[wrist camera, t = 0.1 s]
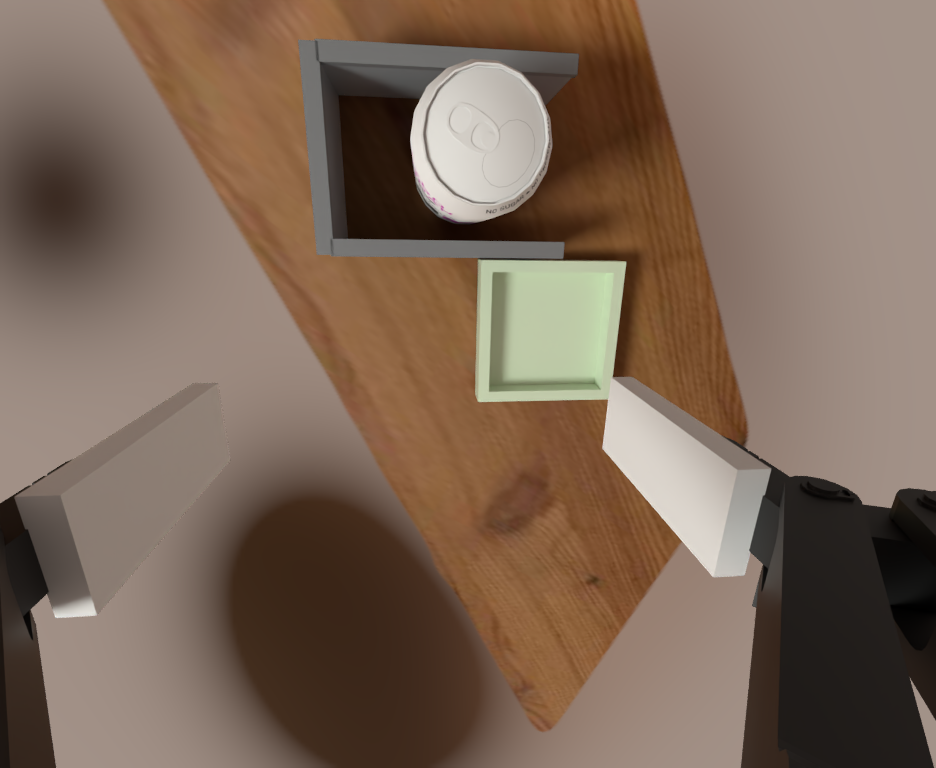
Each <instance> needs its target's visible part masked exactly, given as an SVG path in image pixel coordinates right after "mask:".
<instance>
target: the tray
mask: <svg viewBox="0 0 936 768" xmlns="http://www.w3.org/2000/svg"><path fill="white" fill-rule="evenodd" d="M625 270H626V262H625V261H617V260H535V259H478V284H477V334H476V383H475V394H476V397H477V400H478V402H498V401H546V400H593V399H609V390H610V382H611V377H613V370H614V361H615V353H616V345H617V336H618V328H619V320H620V311H621V303H622V295H623V286H624V278H625Z"/></svg>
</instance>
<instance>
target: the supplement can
mask: <svg viewBox="0 0 936 768" xmlns="http://www.w3.org/2000/svg"><path fill="white" fill-rule="evenodd" d="M410 143H411V151H412V159H413V168H414V174H415V180H416V186H417V190H418V192H419V194H420V196H421V198H422V200H423V201H424V203H425V205H426V206H427V207H428V208H429V209H430V210H431V211H432V212H433V213H434V214H435V215H436V216H437V217H439V218H441V219H443V220H446V221H448V222H451V223H453V224H474V223H477V222H481V221H484V220H488V219H492V218H495V217H497V216H500V215H503V214H506V213H509V212H511V211H514V210H515V209H517V208H518V207H519V206H520V205H521V204H523V203H524V202H525V201H526V200H527V199H528V198H530V197H531V196H532V195H533V194H534V192H535V191H536V189H537V187H538V186H539V184H540V182H541V181H542V179H543V177H544V176H545V174H546V172H547V168H548V163H549V159H550V155H551V150H552V134H551V122H550V117H549V114H548V112H547V109H546V107H545V105H544V102H543V100H542V97H541V95H540V93H539V92H538V90H537V89H536V88H535V87H534V86H533V85H532V84H531V83H530V82H529V80H528V79H527V78H526V77H525V76H524V75H523V74H522V73H521V72H519V71H517V70H515V69H513V68H511V67H509V66H507V65H506V64H504V63H502V62H500V61H496V60H480V59H470V60H468V61H465V62H462V63H459V64H457V65H454V66H451V67H448V68H446V69H445V70H444V71H443V72H442V73H441V74H440V75H439V76H438V77H437V78H435V79H434V80H433V81H432V82H431V83H430V84H429V85H428V86H427V87H426V89H425V91H424V93H423V95H422V97H421V99H420V101H419V103H418V105H417V107H416V109H415V111H414V116H413V123H412V130H411V137H410Z"/></svg>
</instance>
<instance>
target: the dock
mask: <svg viewBox="0 0 936 768" xmlns="http://www.w3.org/2000/svg"><path fill="white" fill-rule="evenodd" d="M314 40H315V41H311V40H298V43H299V54H300V66H301V77H302V89H303V100H304V112H305V123H306V135H307V146H308V158H309V169H310V181H311V192H312V204H313V215H314V227H315V238H316V250H317V255H331V256H359V257H452V258H546V259H563V255H564V242H524V241H455V240H385V239H348V232H347V217H346V201H345V186H344V171H343V156H342V140H341V125H340V110H339V95H344V96H366V97H388V98H411V99H421V97H422V95H423V93H424V91H425V89H426V87H427V86H428V85H429V84H430V83H431V82H432V81H433V80H434V79H435V78H437V77H438V76H439V75H440V74H441V73H442V72H443V71H444V70H445V69H446V68H448V67H451V66H454V65H457V64H459V63H462V62H465V61H468V60H470V59H480V60H496V61H500V62H502V63H504V64H506V65H507V66H509V67H511V68H513V69H515V70H517V71H519V72H521V73H522V74H523V75H524V76H525V77H526V78H527V79H528V80H529V82H530V83H531V84H532V85H533V86H534V87H535V88H536V89H537V90H538V92H539V93H540V95H541V97H542V100H543V102H544V105H547V103H548V102H549V101H550V100H551V99H552V98H553V97H554V96H555V95H556V94H557V93H558V92H559V91H560V90H561V89H562V87H563V86H564V85H565V84H566V83H567V82H568V81H569V80H570V79H571V78H575V77H576V76H577V74H578V61H579V54H573V53H555V52H537V51H520V50H502V49H485V48H467V47H450V46H432V45H414V44H397V43H379V42H362V41H344V40H326V39H314Z"/></svg>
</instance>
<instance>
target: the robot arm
mask: <svg viewBox="0 0 936 768" xmlns="http://www.w3.org/2000/svg"><path fill="white" fill-rule="evenodd" d="M603 450H604V451H605V452H606V453H607V454H608V455H609V457H610V458H611V459H612V460H613V461H614V462H615V464H616V465H617V466H618V467H619V468H620V469H621V470H622V472H623V473H624V474H625V475H626V476H627V477H628V479H629V480H630V481H631V482H632V483H633V484H634V486H635V487H636V488H637V489H638V490H639V491H640V493H641V494H642V495H643V496H644V497H645V498H646V500H647V501H648V502H649V503H650V504H651V505H652V507H653V508H654V509H655V510H656V511H657V512H658V513H659V515H660V516H661V517H662V518H663V519H664V520H665V522H666V523H667V524H668V525H669V526H670V527H671V529H672V530H673V531H674V532H675V533H676V534H677V536H678V537H679V538H680V539H681V540H682V541H683V543H684V544H685V545H686V546H687V547H688V548H689V550H690V551H691V552H692V553H693V554H694V555H695V556H696V557H697V559H698V560H699V561H700V562H701V563H702V565H703V566H704V567H705V568H706V569H707V570H708V571H709V573H710V574H711V575H712V576H713V577H726V576H742V575H745V572H746V568H747V564H748V560H749V556H750V552H751V553H752V554H753V555H754V556H755V557H756V558H757V559H758V560H759V561H761V562H762V564H763V566H762V570H761V574H760V578H759V582H758V585H757V589H756V593H755V597H754V600H753V604H752V606H753V607H756V618H755V628H754V639H753V648H752V659H751V669H750V679H749V690H748V700H747V710H746V721H745V731H744V742H743V752H742V763H741V768H934V766H933V762H932V759H931V755H930V752H929V748H928V744H927V740H926V736H925V733H924V729H923V725H922V722H921V718H920V714H919V711H918V707H917V703H916V700H915V696H914V692H913V689H912V685H911V681H910V678H911V680H912V682H913V683H914V685H915V687H916V688H917V690H918V692H919V693H920V695H921V697H922V698H923V700H924V702H925V703H926V705H927V706H928V708H929V710H930V712H931V713H932V715H933V717H934V718H935V720H936V491H926V490H920V489H910V488H908V489H901V490H899V491H898V492H897V494H896V496H895V500H894V502H893V505H892V508H885V507H877V506H869V505H862V501H861V500H860V499H859V497H858V496H857V495H856V494H855V493H853V492H852V491H850V490H849V489H847V488H845V487H842V486H840V485H838V484H836V483H833V482H830V481H827V480H824V479H820V478H814V477H808V476H793V477H789V476H788V475H786V474H785V473H783V472H782V471H780V470H778V469H777V468H775V467H774V466H772V465H771V464H769V463H768V462H766V461H765V460H763V459H759V457H758V456H757V455H755V454H754V453H752V452H751V451H748V450H747V449H746V448H745V447H743V446H741V445H740V444H738V443H737V442H735V441H734V440H731V439H729V438H726V437H724V436H721V435H719V434H718V433H716V432H715V431H713V430H712V429H710V428H709V427H707V426H706V425H704V424H703V423H701V422H700V421H698V420H697V419H695V418H694V417H692V416H691V415H689V414H688V413H686V412H685V411H683V410H682V409H680V408H678V407H677V406H675V405H674V404H672V403H671V402H669V401H668V400H666V399H665V398H663V397H662V396H660V395H659V394H657V393H656V392H654V391H653V390H651V389H650V388H648V387H647V386H645V385H644V384H642V383H641V382H639V381H638V380H636V379H635V378H633V377H611V382H610V390H609V399H608V407H607V415H606V424H605V432H604V440H603ZM229 461H230V453H229V447H228V441H227V435H226V429H225V422H224V416H223V410H222V404H221V398H220V392H219V386H218V383H193V384H191V385H190V386H188V387H187V388H185V389H183V390H182V391H180V392H179V393H177V394H175V395H174V396H172V397H171V398H169V399H168V400H166V401H164V402H163V403H161V404H160V405H158V406H157V407H155V408H153V409H152V410H150V411H149V412H147V413H145V414H144V415H142V416H141V417H139V418H138V419H136V420H135V421H133V422H131V423H130V424H128V425H127V426H125V427H123V428H122V429H121V430H119V431H117V432H116V433H114V434H112V435H111V436H109V437H108V438H106V439H105V440H103V441H101V442H100V443H98V444H97V445H95V446H94V447H92V448H90V449H89V450H87V451H86V452H84V453H82V454H81V455H79V456H78V457H76V458H75V459H73V460H70V461H68V462H65V463H64V464H62V465H60V466H59V467H57V468H56V469H54V470H53V471H51V472H49V473H48V474H47V476H43V477H42V478H40V479H38V480H37V481H35V482H33V483H32V486H27V487H26V488H24V489H22V490H21V491H19V492H18V493H16V494H14V495H13V496H11V497H10V498H8V499H7V500H5V501H3V502H2V503H0V768H56V764H55V758H54V750H53V743H52V736H51V729H50V722H49V715H48V708H47V700H46V693H45V686H44V679H43V672H42V666H41V658H40V651H39V644H38V637H37V630H36V624H35V621H34V618H33V615H32V613H31V610H30V609H31V608H32V607H33V606H35V604H37V603H38V602H39V601H40V600H41V599H42V598H43V597H44V596H45V595H46V594H47V595H48V597H49V600H50V603H51V606H52V609H53V612H54V615H55V618H64V617H78V616H96V615H98V614H99V612H100V611H101V610H102V609H103V608H104V607H105V606H106V604H107V603H108V602H109V601H110V600H111V599H112V597H113V596H114V595H115V594H116V593H117V592H118V590H119V589H120V588H121V587H122V586H123V585H124V583H125V582H126V581H127V580H128V579H129V578H130V576H131V575H132V574H133V573H134V572H135V570H136V569H137V568H138V567H139V566H140V565H141V563H142V562H143V561H144V560H145V559H146V558H147V557H148V555H149V554H150V553H151V552H152V551H153V550H154V549H155V547H156V546H157V545H158V544H159V543H160V542H161V540H162V539H163V538H164V537H165V536H166V535H167V533H168V532H169V531H170V530H171V529H172V528H173V526H174V525H175V524H176V523H177V522H178V521H179V519H180V518H181V517H182V516H183V515H184V513H186V511H187V510H188V509H189V508H190V507H191V506H192V504H193V503H194V502H195V501H196V500H197V499H198V497H199V496H200V495H201V494H202V493H203V492H204V490H205V489H206V488H207V487H208V486H209V485H210V483H211V482H212V481H213V480H214V479H215V478H216V476H217V475H218V474H219V473H220V472H221V470H223V468H224V467H225V466H226V465H227V464H228V463H229ZM909 677H910V678H909Z"/></svg>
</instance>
